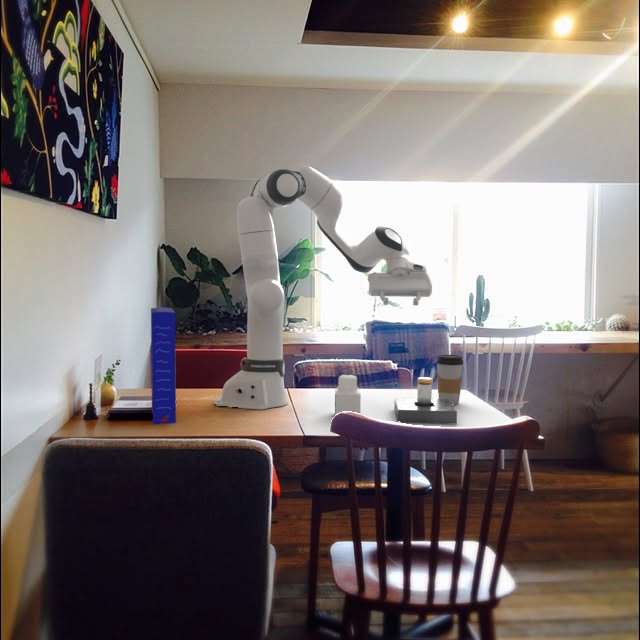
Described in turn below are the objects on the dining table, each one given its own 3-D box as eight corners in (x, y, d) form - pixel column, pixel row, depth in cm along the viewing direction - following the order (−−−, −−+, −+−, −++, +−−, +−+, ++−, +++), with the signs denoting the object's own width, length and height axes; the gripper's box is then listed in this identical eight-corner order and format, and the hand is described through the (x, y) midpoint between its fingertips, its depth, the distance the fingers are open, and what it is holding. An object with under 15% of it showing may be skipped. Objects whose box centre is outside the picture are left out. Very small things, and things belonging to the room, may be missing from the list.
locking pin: (417, 417, 173) (418, 379, 172) (416, 414, 177) (417, 377, 176) (431, 418, 173) (433, 379, 172) (430, 414, 177) (431, 377, 176)
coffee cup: (462, 406, 189) (464, 358, 188) (435, 404, 191) (436, 357, 190) (461, 400, 197) (463, 355, 196) (435, 399, 199) (436, 354, 198)
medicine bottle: (334, 413, 178) (335, 372, 177) (359, 413, 178) (360, 372, 177) (334, 418, 171) (335, 376, 170) (360, 419, 171) (360, 376, 170)
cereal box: (175, 422, 164) (175, 311, 162) (152, 424, 162) (151, 311, 160) (172, 406, 185) (171, 307, 182) (151, 407, 183) (150, 307, 181)
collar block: (397, 422, 167) (398, 409, 167) (394, 409, 183) (394, 398, 183) (456, 423, 166) (457, 411, 166) (448, 410, 182) (448, 399, 182)
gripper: (368, 265, 200) (368, 296, 191) (430, 266, 198) (434, 297, 189) (367, 279, 204) (367, 310, 195) (429, 280, 203) (431, 311, 194)
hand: (400, 304), depth 192 cm, fingers open, 8 cm apart
